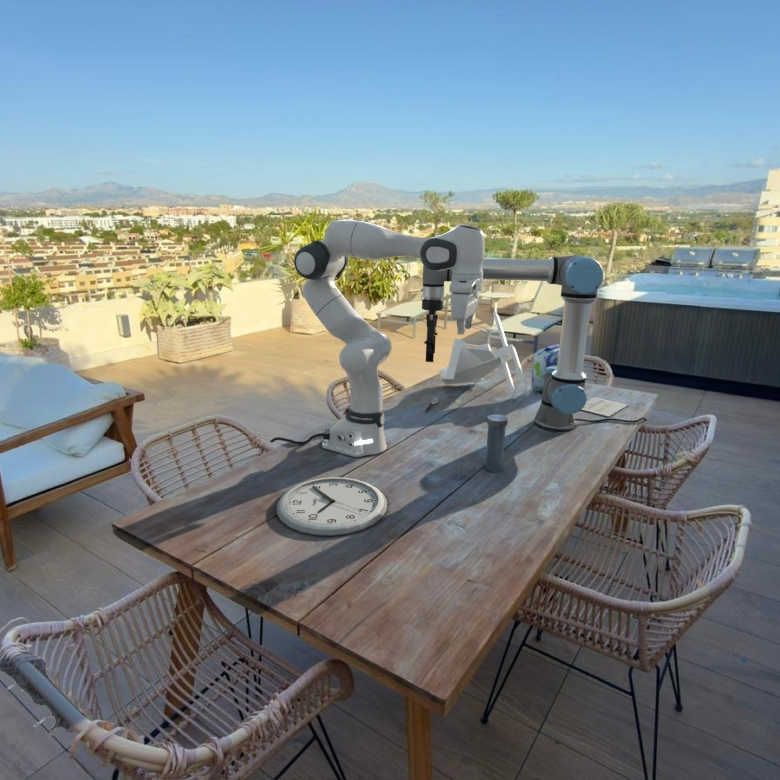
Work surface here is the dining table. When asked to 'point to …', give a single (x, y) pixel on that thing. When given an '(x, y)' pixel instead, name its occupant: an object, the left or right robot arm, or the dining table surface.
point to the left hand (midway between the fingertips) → (464, 331)
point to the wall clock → (331, 506)
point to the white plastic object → (482, 362)
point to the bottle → (495, 448)
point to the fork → (432, 403)
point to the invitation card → (603, 406)
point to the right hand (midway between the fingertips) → (430, 357)
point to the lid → (497, 420)
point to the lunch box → (543, 365)
